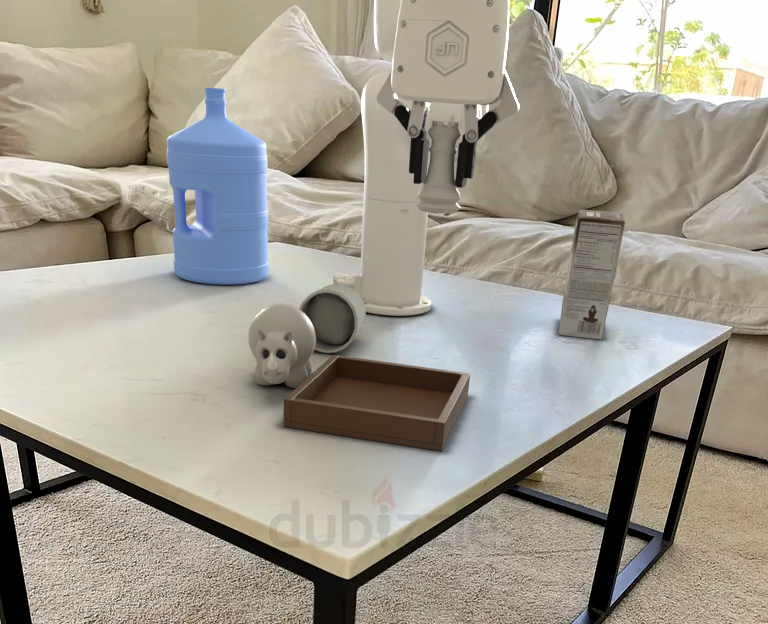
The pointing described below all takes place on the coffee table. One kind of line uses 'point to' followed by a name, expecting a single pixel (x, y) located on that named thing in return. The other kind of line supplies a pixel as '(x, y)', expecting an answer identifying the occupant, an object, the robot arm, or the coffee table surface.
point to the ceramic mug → (334, 316)
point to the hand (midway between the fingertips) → (440, 182)
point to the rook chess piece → (441, 171)
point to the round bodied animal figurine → (282, 345)
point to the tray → (379, 402)
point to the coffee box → (591, 273)
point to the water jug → (219, 199)
